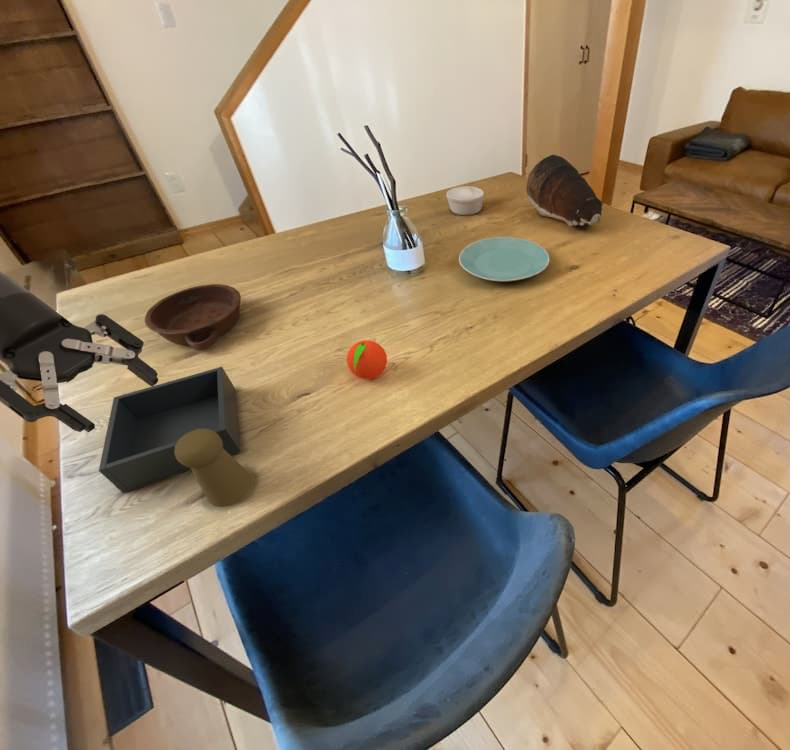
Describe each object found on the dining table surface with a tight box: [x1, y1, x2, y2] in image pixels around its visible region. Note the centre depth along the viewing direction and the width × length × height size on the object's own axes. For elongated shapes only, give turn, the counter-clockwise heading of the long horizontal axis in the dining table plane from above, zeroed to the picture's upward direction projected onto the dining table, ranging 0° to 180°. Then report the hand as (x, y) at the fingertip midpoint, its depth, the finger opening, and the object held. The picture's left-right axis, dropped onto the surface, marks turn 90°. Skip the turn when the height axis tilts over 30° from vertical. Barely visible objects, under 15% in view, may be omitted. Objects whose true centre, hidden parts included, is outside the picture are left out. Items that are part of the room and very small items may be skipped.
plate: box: [458, 236, 550, 283], centre depth 107 cm, size 22×22×3 cm
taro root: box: [525, 154, 605, 227], centre depth 124 cm, size 15×15×25 cm
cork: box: [174, 429, 254, 508], centre depth 59 cm, size 6×6×11 cm
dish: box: [144, 283, 242, 351], centre depth 90 cm, size 18×22×5 cm
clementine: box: [346, 339, 388, 380], centre depth 77 cm, size 8×7×7 cm
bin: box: [98, 366, 242, 494], centre depth 68 cm, size 16×16×6 cm
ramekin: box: [445, 185, 485, 216], centre depth 133 cm, size 11×11×5 cm
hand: (125, 404), depth 56 cm, fingers open, 8 cm apart
